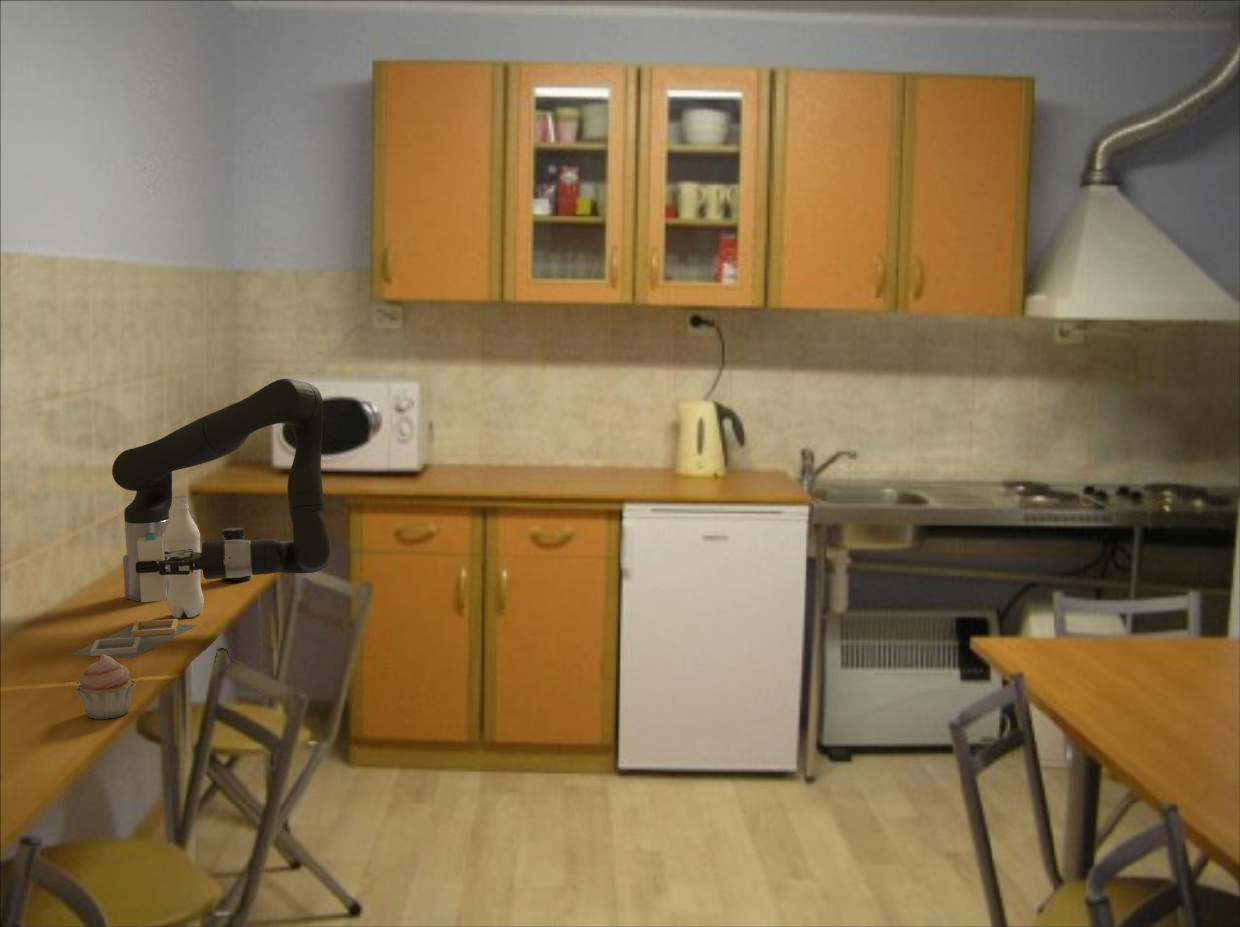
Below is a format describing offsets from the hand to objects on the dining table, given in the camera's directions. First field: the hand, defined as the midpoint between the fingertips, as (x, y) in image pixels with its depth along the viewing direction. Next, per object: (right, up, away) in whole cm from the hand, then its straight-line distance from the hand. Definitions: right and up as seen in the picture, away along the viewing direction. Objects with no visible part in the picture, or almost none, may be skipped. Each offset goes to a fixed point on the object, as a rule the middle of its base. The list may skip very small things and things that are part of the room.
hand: (137, 564), depth 272 cm
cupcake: (+12, -21, -48) cm, 53 cm away
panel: (+1, -15, -4) cm, 15 cm away
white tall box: (+3, -7, +2) cm, 8 cm away
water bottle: (+4, -12, +16) cm, 21 cm away
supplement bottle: (+6, -7, +50) cm, 50 cm away
